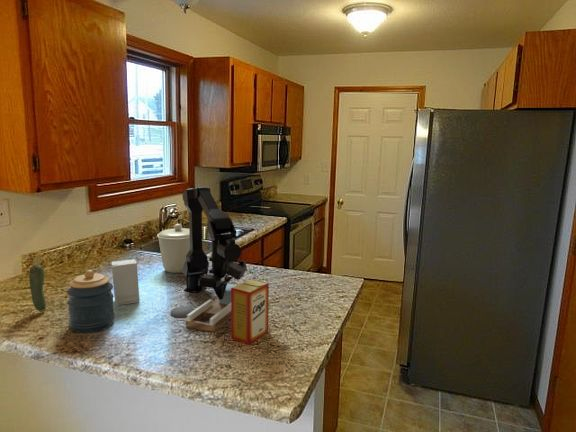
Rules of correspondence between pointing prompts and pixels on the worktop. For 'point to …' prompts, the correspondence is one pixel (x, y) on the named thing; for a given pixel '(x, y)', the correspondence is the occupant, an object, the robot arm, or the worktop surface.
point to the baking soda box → (249, 311)
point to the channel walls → (205, 307)
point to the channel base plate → (204, 318)
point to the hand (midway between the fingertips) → (220, 299)
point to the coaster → (181, 311)
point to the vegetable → (37, 284)
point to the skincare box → (125, 282)
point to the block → (227, 295)
